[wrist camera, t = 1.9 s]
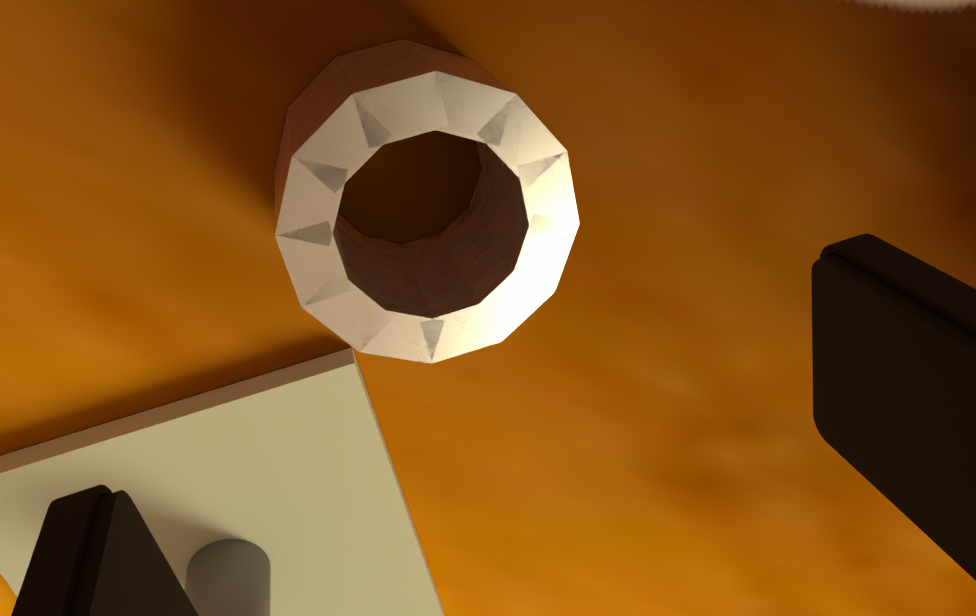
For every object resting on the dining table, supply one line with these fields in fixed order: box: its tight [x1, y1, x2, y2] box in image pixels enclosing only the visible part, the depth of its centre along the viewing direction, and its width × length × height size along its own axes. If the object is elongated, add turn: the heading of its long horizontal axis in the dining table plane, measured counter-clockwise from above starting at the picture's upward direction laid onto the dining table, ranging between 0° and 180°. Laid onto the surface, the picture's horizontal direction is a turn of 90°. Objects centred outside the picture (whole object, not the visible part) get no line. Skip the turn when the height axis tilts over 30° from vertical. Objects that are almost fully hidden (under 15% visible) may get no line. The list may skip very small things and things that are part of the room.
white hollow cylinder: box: [275, 39, 579, 363], centre depth 20 cm, size 7×7×5 cm
